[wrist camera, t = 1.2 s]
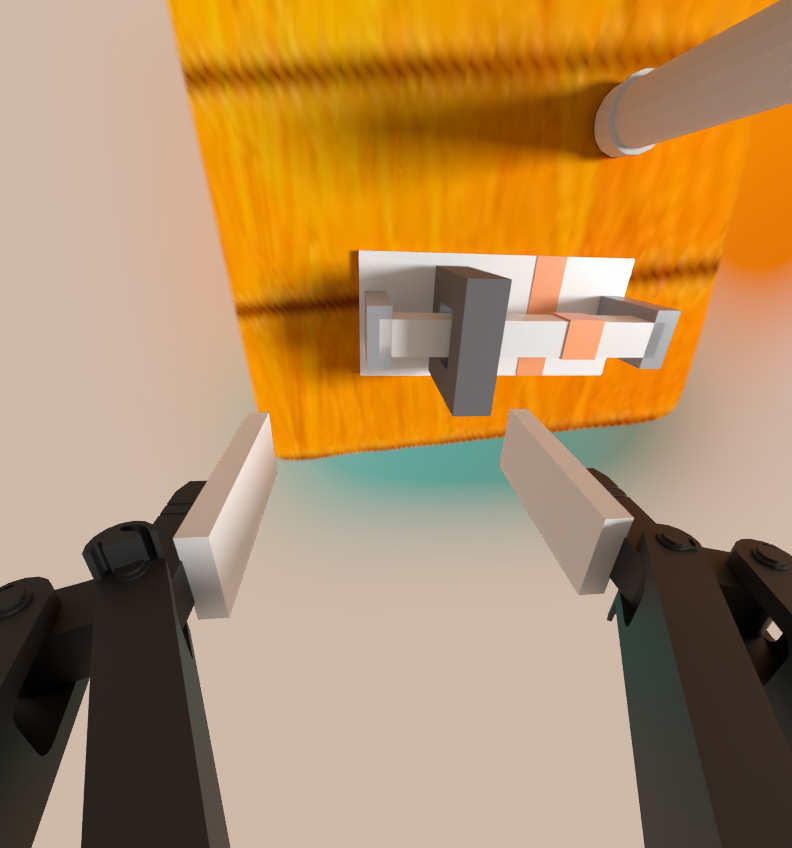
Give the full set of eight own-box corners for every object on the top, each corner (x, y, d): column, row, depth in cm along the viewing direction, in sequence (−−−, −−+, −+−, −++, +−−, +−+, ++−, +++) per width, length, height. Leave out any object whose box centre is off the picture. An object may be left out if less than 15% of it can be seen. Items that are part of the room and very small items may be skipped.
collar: (435, 265, 34) (467, 278, 25) (468, 266, 35) (512, 279, 25) (428, 370, 39) (452, 416, 29) (456, 370, 39) (490, 415, 29)
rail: (358, 250, 35) (359, 255, 27) (629, 258, 38) (705, 265, 30) (360, 373, 40) (361, 408, 32) (597, 372, 43) (653, 405, 35)
